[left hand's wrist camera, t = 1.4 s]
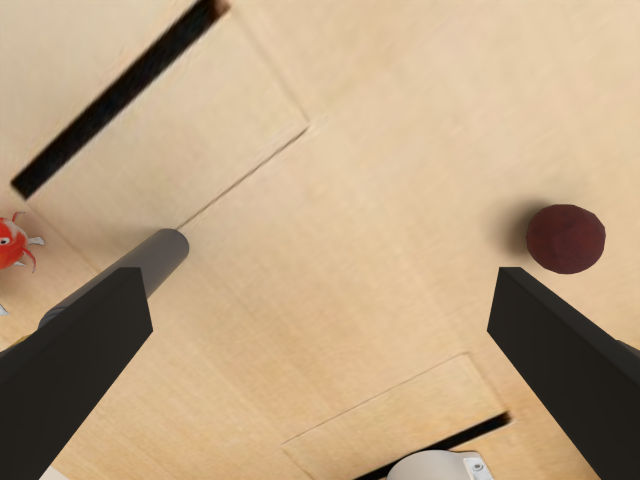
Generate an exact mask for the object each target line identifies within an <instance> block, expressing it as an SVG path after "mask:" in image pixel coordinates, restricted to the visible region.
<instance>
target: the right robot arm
mask: <svg viewBox="0 0 640 480" xmlns="http://www.w3.org/2000/svg"><path fill="white" fill-rule="evenodd" d="M386 480H495V479H494V477H493V476H492V474H491V472H490V471H489V469H488V467H487V466H486V464H485V462H484V460H483V459H482V457H481V455H480V454H479V453H478V452H462V453H455V452H450V451H444V450H428V451H422V452H418V453H415V454H412V455H410V456H408V457H406V458H404V459H402V460H401V461H399V462H398V463H397V464H396V465H395V466H394V467H393V468H392V469H391V471H390V472H389V474H388V476H387V479H386Z"/></svg>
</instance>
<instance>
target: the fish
mask: <svg viewBox="0 0 640 480" xmlns="http://www.w3.org/2000/svg"><path fill="white" fill-rule="evenodd" d="M20 213H25V212H23V211H21V212H16V213H15V214H14V216H13V219H12V221H10V220H8V219H6V218H0V269H3V268H6V267H9V266H11V265H18V266H25V265H24V264H22V263H20V262H18V260H19V259H20V258H21V257H22V256H23V255H24V253H25V254H26V255H28V256H29V257H30V258H32V260H33V263H34V268H33V272H34V271H35V265H36V261H35V258H34V257H33V255H32V254H31V252H30V251H29V250H27V246H28V244H39V245H44V244H45V243H44V241H43V240H42V238H40V237H36V238H28V235H27V234H26V233H25V232H24V231H23V230H22V229H21V228H20V227H19V226H18V225H16V224H15V221H16V219H17V217H18V216H19V215H20ZM33 272H32V273H33ZM8 314H10V313H8V312H7V311H6V310H5V309H4V308H3V307H2V305H1V304H0V316H1V315H8Z"/></svg>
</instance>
